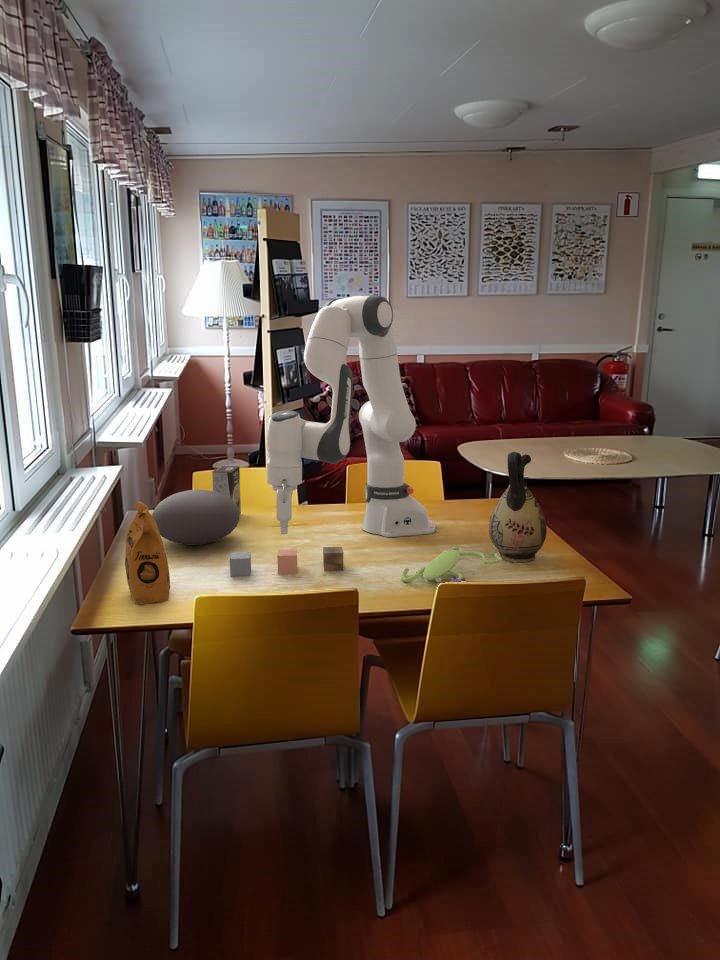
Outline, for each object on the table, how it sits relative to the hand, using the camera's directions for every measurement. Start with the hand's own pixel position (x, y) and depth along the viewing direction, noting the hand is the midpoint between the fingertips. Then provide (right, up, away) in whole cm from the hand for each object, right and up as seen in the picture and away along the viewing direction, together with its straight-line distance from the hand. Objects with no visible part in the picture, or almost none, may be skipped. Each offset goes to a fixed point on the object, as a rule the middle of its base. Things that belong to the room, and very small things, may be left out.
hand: (284, 528), depth 195 cm
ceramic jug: (+62, -9, +13) cm, 64 cm away
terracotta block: (+1, -11, +3) cm, 12 cm away
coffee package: (-31, -15, -14) cm, 37 cm away
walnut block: (+12, -11, +5) cm, 17 cm away
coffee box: (-23, 0, +49) cm, 55 cm away
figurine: (+43, -12, +1) cm, 45 cm away
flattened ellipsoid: (-28, -6, +26) cm, 38 cm away
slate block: (-11, -12, +1) cm, 16 cm away
